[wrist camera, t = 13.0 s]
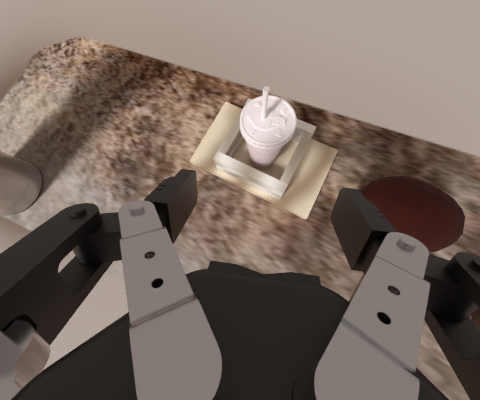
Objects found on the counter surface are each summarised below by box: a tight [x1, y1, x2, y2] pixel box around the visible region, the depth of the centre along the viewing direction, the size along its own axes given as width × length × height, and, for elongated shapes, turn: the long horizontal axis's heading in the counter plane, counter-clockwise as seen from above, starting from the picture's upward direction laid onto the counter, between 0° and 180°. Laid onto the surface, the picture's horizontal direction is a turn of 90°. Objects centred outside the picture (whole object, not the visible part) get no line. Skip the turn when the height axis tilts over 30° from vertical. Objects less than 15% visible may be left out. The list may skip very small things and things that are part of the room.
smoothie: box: [240, 86, 297, 168], centre depth 25 cm, size 6×6×14 cm
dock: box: [190, 99, 338, 219], centre depth 31 cm, size 20×12×5 cm, turn 62°
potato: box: [360, 176, 465, 252], centre depth 26 cm, size 9×12×9 cm
